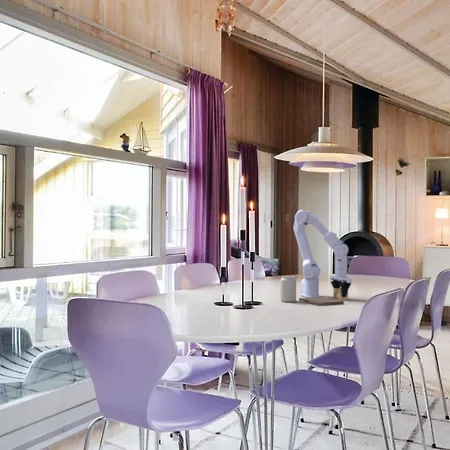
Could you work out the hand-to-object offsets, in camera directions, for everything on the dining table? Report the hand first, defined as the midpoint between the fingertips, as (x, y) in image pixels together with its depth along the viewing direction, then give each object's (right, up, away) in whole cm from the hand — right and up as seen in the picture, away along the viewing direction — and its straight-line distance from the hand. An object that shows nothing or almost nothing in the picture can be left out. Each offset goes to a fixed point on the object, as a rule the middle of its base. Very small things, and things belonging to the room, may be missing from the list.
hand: (340, 296), depth 244 cm
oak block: (0, -1, 0) cm, 1 cm away
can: (-27, -2, -8) cm, 28 cm away
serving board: (-12, -1, -11) cm, 16 cm away
